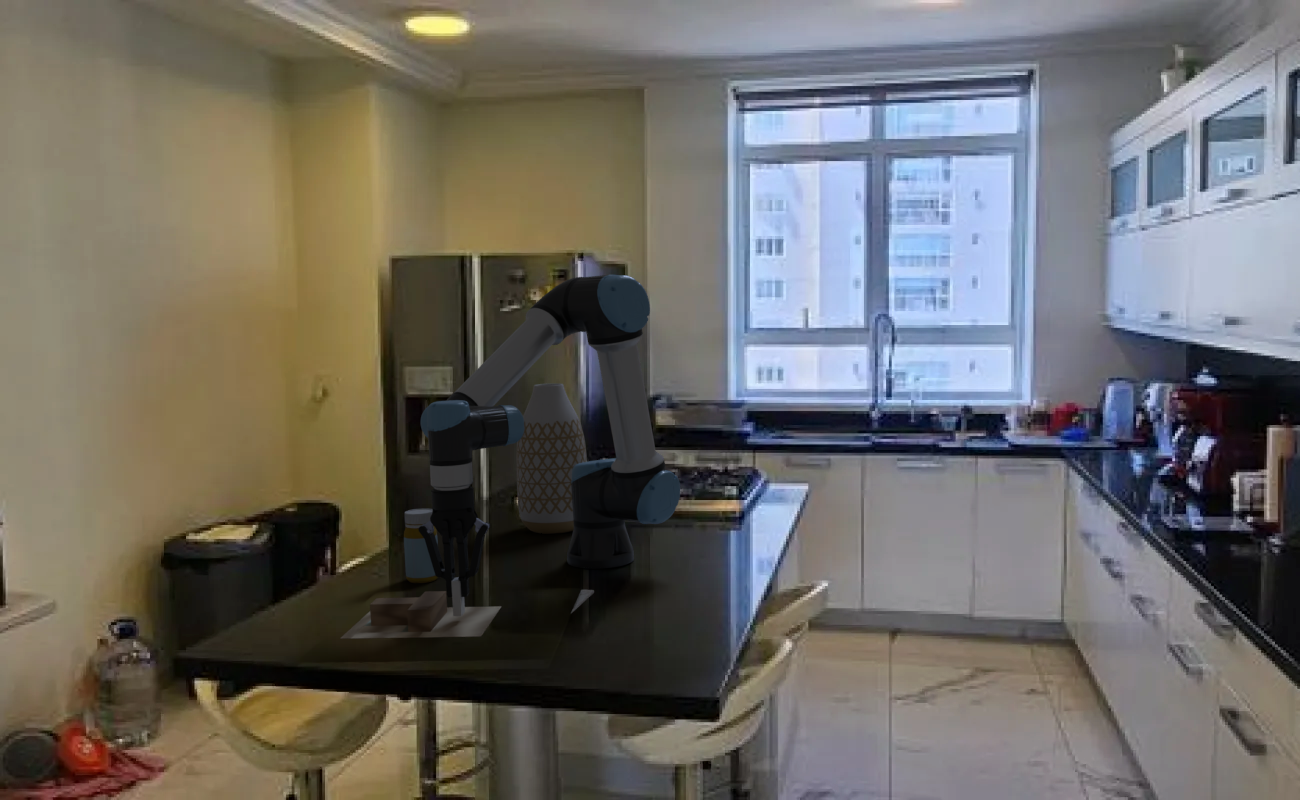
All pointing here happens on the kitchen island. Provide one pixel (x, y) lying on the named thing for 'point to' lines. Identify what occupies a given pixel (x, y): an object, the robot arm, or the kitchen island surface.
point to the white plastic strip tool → (582, 598)
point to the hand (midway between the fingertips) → (459, 613)
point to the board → (448, 626)
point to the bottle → (417, 547)
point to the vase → (548, 460)
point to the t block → (410, 611)
